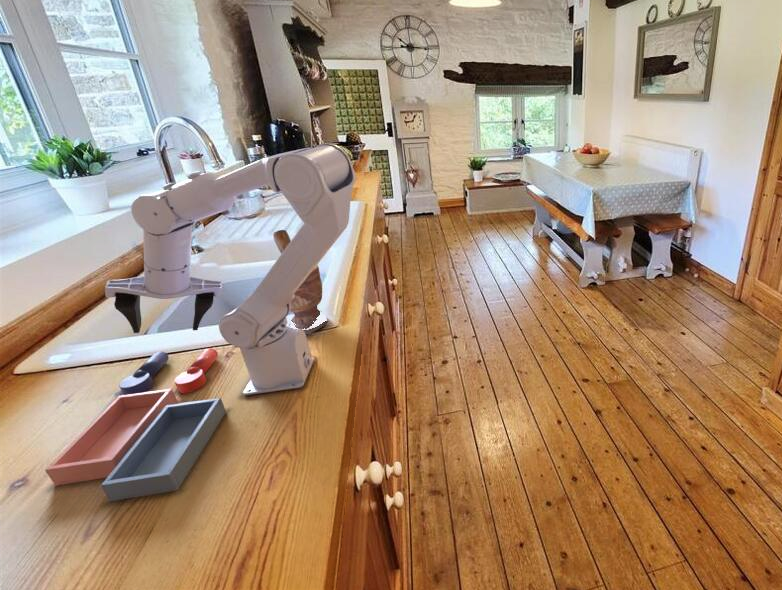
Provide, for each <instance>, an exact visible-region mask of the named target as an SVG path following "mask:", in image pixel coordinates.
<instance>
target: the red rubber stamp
mask: <svg viewBox="0 0 782 590" xmlns="http://www.w3.org/2000/svg"><path fill="white" fill-rule="evenodd" d="M218 356H219V353H218V350H217V349H215V348H210V347H209V348H206V349H204V350H203V351H202V352H201V353H200V354H199V355H198V357H197V358H196V359H195V360H194V361H193V362H192V363H191V365H190V366H189V367H188V369H187V370H186V371H184V372H181V373H180V374H179V375H177V376H176V377H175V379H174V384H175V386H176V389H177V391H178V392H179V393H181V394H188V393H193V392H195V391H197V390H199V389H201V388H203V386H205V384H206V383H207V378H206V375H205V374H206V373H207V371H208V370H209V369H211V366H212V365H213V364H214V363H215V361H216V360H218V359H217V358H218Z"/></svg>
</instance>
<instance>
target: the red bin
mask: <svg viewBox="0 0 782 590" xmlns="http://www.w3.org/2000/svg"><path fill="white" fill-rule="evenodd" d="M172 404H179V402H178V399H177V397H176V395H175V393H174V391H173V389H172V388H168V389H167V388H166V389H160V390H159V389H157V390H152V391H151V390H150V391H146V392H143V393H136V394H128V395H123V394H121V395H118V396H117V397H116V398H115V399H114V400H113V401H112V402H111V403H110V404H109V405H108V406H107V407H106V408H105V409H103V411H102V412H101V413H100V414H99V415H98V416H97V417H96V418H95V419H94V420H93V421H92V422H91V423H90V424H89V425H88V426H87V427H86V428H85V429H84V430H83V431H82V432H81V433H80V434H79V435H78V436H77V437H76V438H75V439H74V440H73V441H72V442H71V443H70V444H69V445H68V446H67V447H66V448H65V449H64V450H63V451H62V452H61V453H60V454H59V455H58V456H57V457H56V458H55V459H54V460H53V461H52V462H51V463H50V464H49V465H48V466H47V467H46V468H45V469H44V471H45V473H46V474H47V476H48V477H49V479H50V481H52V484H53V485H54V486H62V485H68V484H74V483H80V482H81V483H82V482H87V481H92V480H100V479H106V478H107V477H108V476H109V475H110V473H111V472H112V471H113V470H114V469H115V467H116V466H117V465H118V464H119V462H120V461H121V460H122V459H123V458H124V456H125V455H126V454H127V453H128V451H129V450H130V449H131V448H132V447H133V445H134V444H135V443H136V442H137V441H138V439H139V438H140V437H141V436H142V434H143V433H144V432H145V431H146V430H147V428H148V427H149V426H150V425H151V423H152V422H153V421H154V420H155V419H156V417H157V416H158V415H159V414H160V412H161V411H162V410H163V409H164V407H165V406H166V405H172Z"/></svg>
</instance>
